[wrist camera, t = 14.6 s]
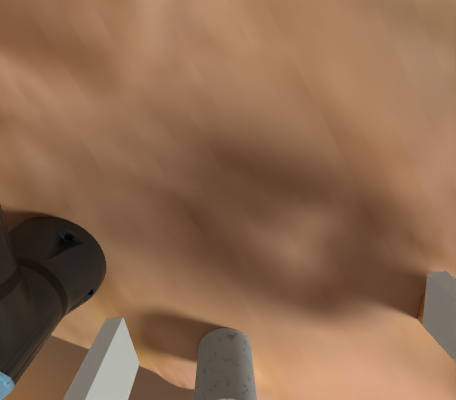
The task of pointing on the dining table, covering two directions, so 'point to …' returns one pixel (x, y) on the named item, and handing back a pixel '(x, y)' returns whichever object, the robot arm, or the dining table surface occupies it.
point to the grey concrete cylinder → (225, 367)
